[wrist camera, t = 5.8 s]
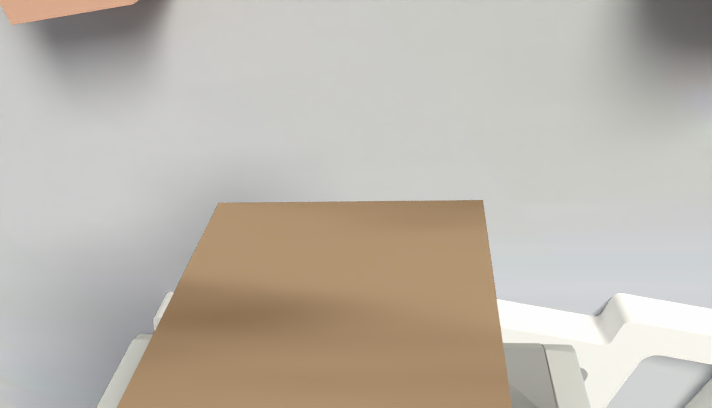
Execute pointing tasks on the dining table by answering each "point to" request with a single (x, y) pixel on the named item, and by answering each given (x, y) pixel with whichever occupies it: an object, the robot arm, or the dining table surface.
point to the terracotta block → (54, 8)
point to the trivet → (608, 338)
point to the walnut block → (331, 311)
